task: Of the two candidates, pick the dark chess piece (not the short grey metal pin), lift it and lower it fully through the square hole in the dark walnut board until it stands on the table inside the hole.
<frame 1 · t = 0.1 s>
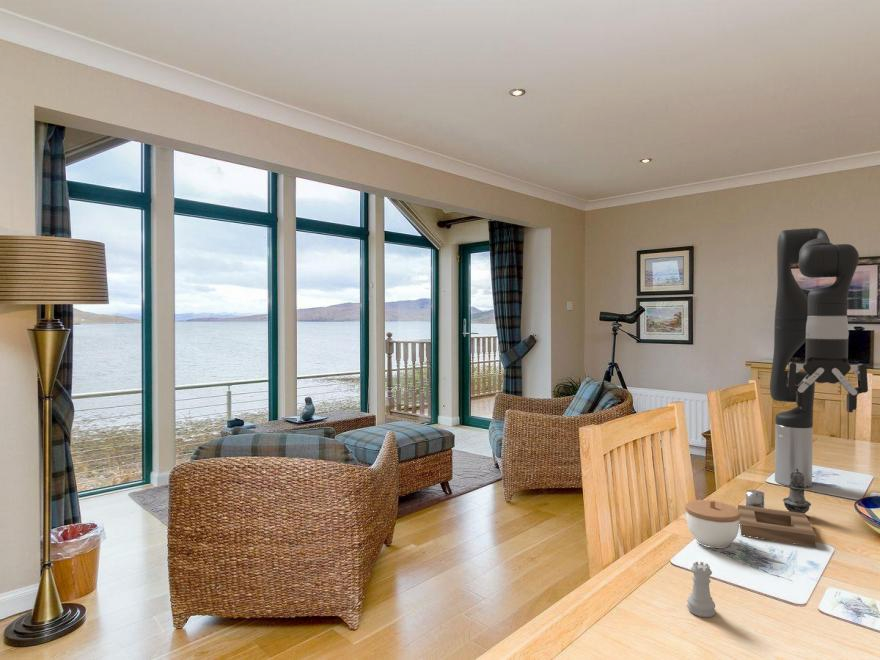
hand: (825, 410, 117), 29 cm above the table, fingers open, 8 cm apart
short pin: (754, 511, 136), on the table
dark chess piece: (796, 516, 133), on the table
hole board: (773, 529, 125), on the table
rook chess piece: (701, 612, 91), on the table
lidded jar: (712, 543, 118), on the table
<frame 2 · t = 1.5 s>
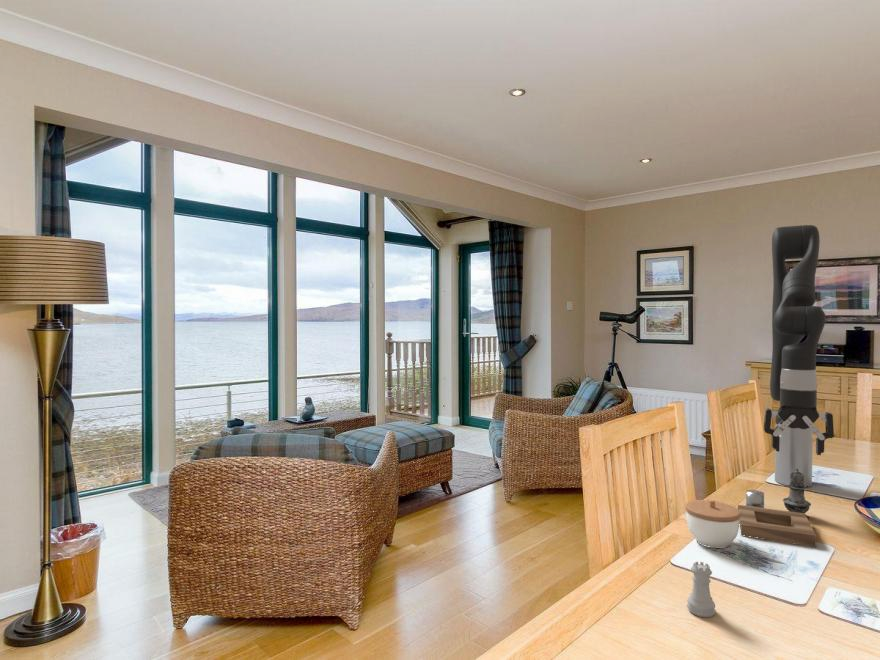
hand: (797, 452, 132), 16 cm above the table, fingers open, 8 cm apart
nothing on the table moved.
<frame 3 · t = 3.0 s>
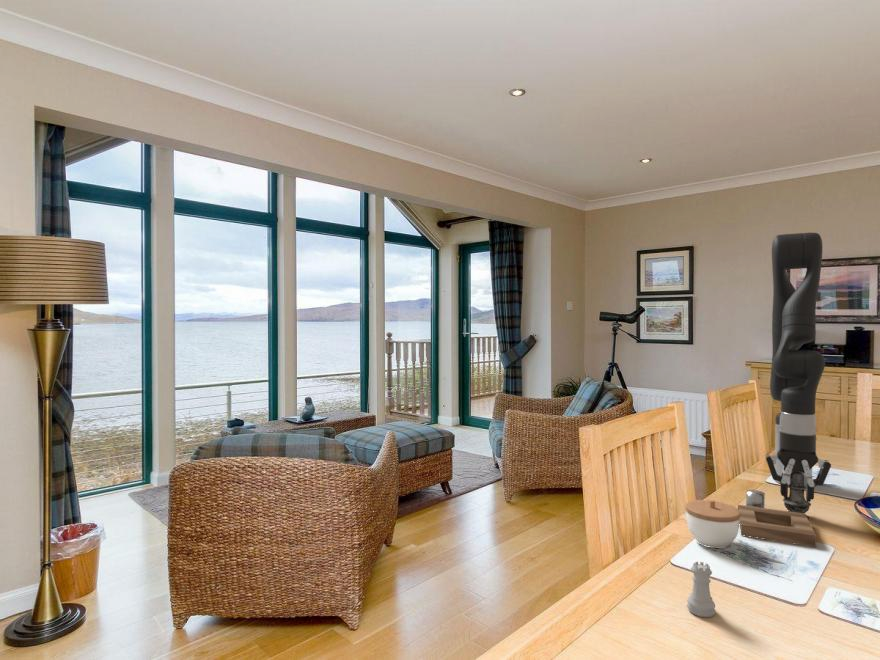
hand: (796, 498, 133), 4 cm above the table, fingers closed on dark chess piece, 4 cm apart
dark chess piece: (796, 516, 133), on the table, touching gripper
everything else where it was.
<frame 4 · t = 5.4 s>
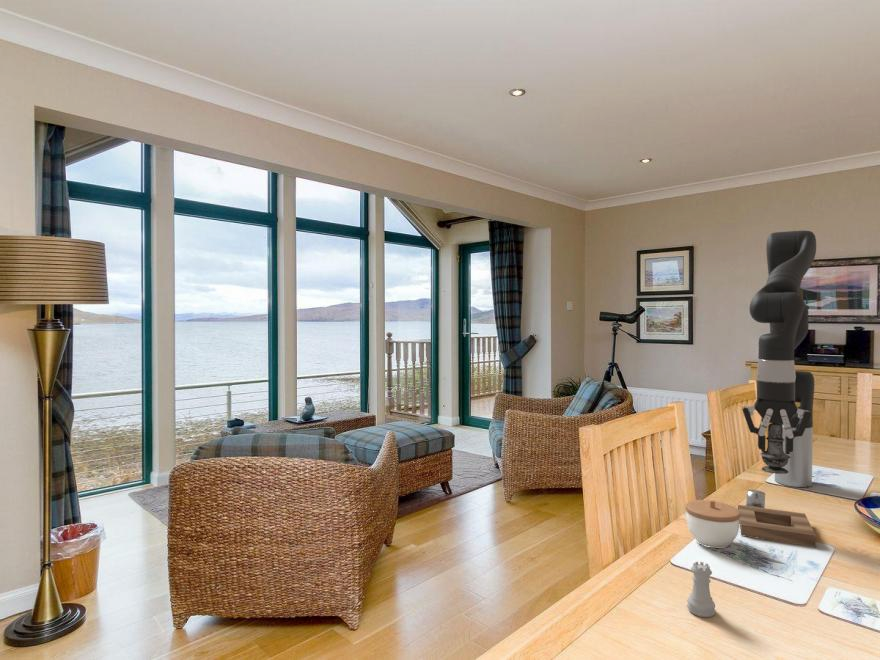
hand: (774, 452, 124), 18 cm above the table, fingers closed on dark chess piece, 4 cm apart
dark chess piece: (774, 471, 124), point 14 cm above the table, touching gripper
everything else where it was.
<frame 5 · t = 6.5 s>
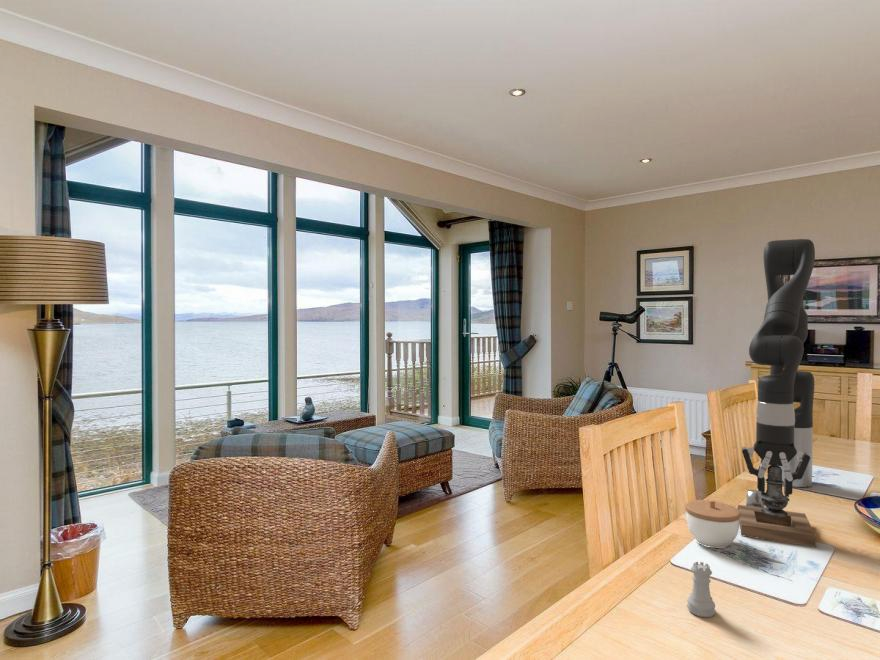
hand: (774, 493, 125), 8 cm above the table, fingers closed on dark chess piece, 4 cm apart
dark chess piece: (774, 513, 125), point 4 cm above the table, touching gripper
everything else where it was.
when the fingers open (5 cm above the table, at t = 7.5 s): dark chess piece stays where it is, resting in hole board.
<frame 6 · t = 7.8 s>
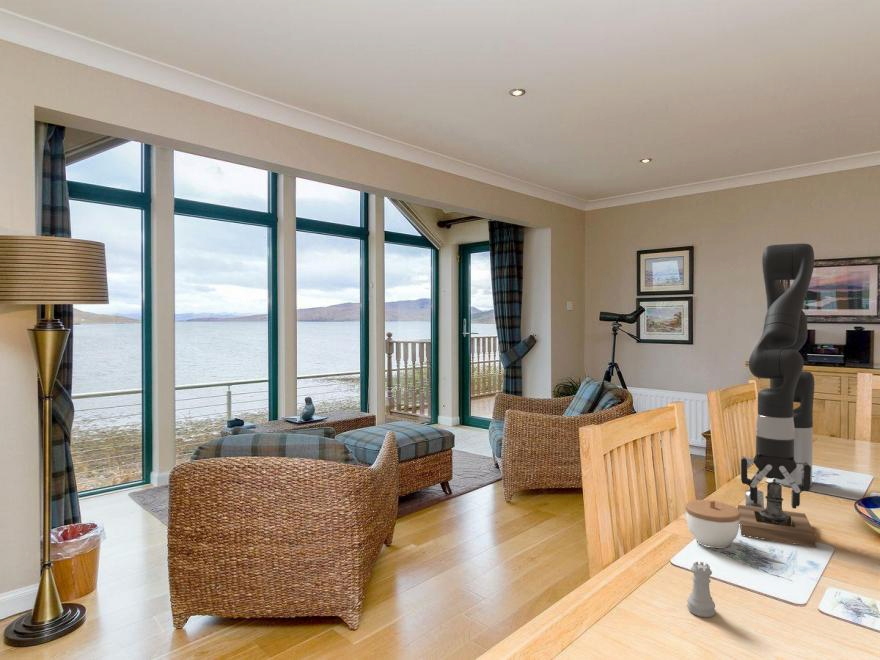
hand: (774, 504, 125), 6 cm above the table, fingers open, 7 cm apart
dark chess piece: (774, 530, 125), resting in hole board
everything else where it was.
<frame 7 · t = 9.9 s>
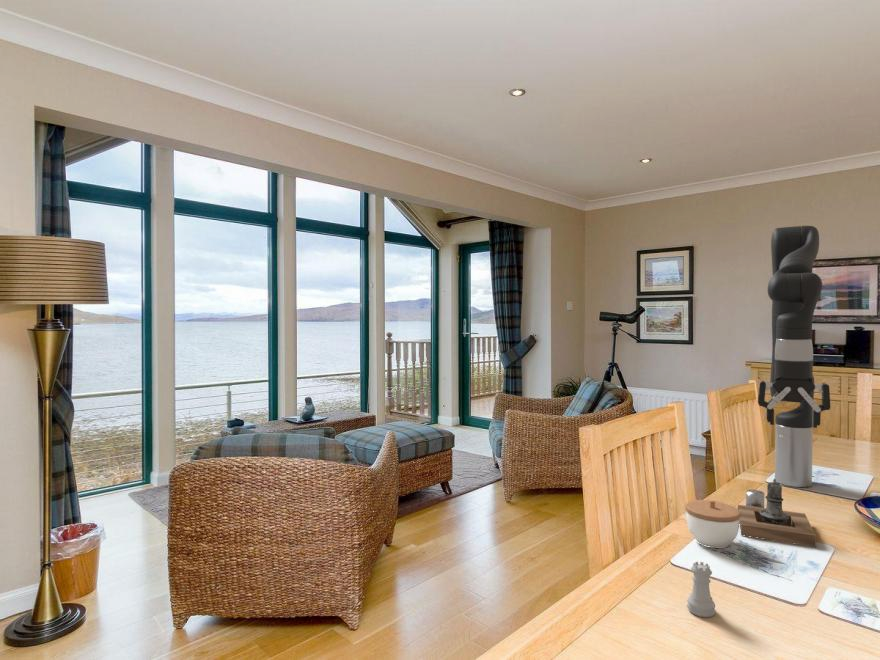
hand: (792, 425, 127), 24 cm above the table, fingers open, 8 cm apart
nothing on the table moved.
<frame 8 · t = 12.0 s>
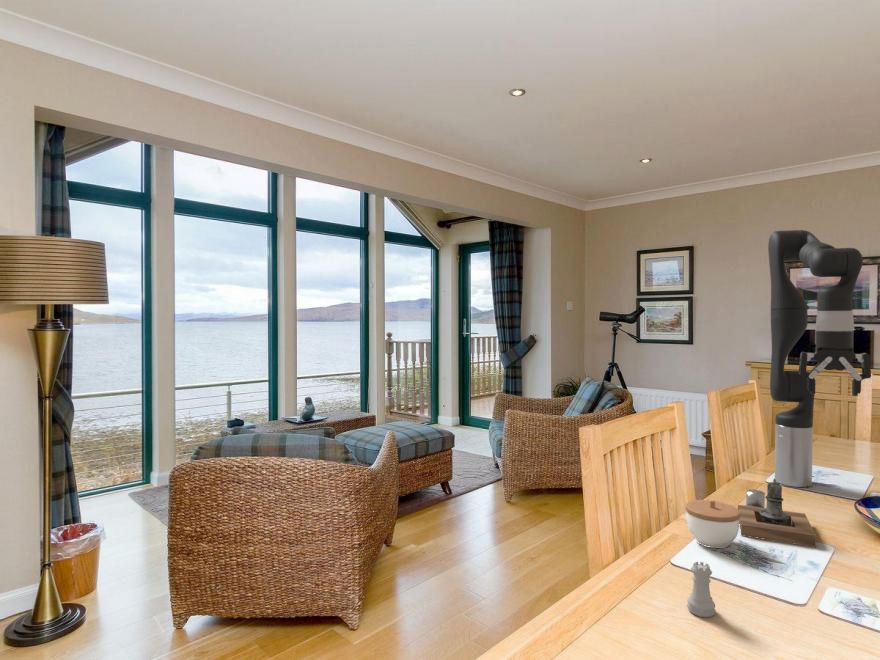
hand: (833, 394, 133), 30 cm above the table, fingers open, 8 cm apart
nothing on the table moved.
at the end: dark chess piece 0.1 cm off-centre on the hole board, point 0.0 cm above the hole board's base; dark chess piece tilted 0°; the gripper is holding nothing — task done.
